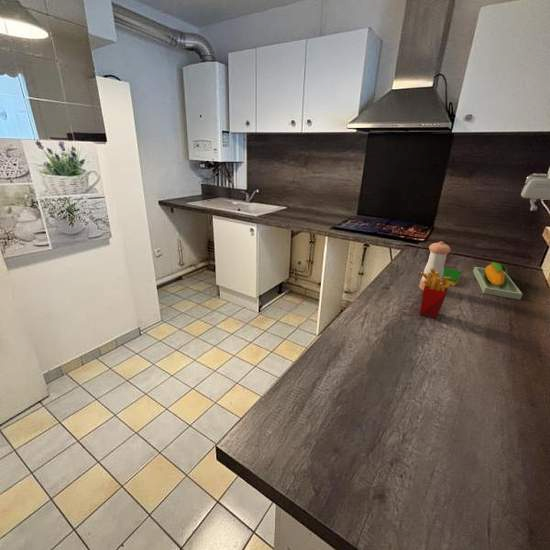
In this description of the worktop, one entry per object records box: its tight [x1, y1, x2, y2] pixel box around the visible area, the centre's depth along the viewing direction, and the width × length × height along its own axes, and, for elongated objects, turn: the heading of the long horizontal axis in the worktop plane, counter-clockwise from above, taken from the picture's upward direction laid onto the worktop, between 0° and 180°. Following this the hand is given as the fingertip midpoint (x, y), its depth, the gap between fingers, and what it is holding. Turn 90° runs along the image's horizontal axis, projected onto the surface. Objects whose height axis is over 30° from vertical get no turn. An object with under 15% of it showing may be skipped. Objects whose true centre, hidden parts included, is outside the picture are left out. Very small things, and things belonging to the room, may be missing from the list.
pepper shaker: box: [418, 241, 451, 291], centre depth 110 cm, size 7×7×19 cm
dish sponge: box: [441, 267, 463, 287], centre depth 123 cm, size 7×14×2 cm, turn 141°
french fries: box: [419, 268, 451, 320], centre depth 93 cm, size 9×8×15 cm
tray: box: [472, 266, 523, 300], centre depth 119 cm, size 25×12×2 cm, turn 156°
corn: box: [484, 261, 508, 288], centre depth 118 cm, size 7×8×20 cm
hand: (547, 211), depth 114 cm, fingers open, 8 cm apart
